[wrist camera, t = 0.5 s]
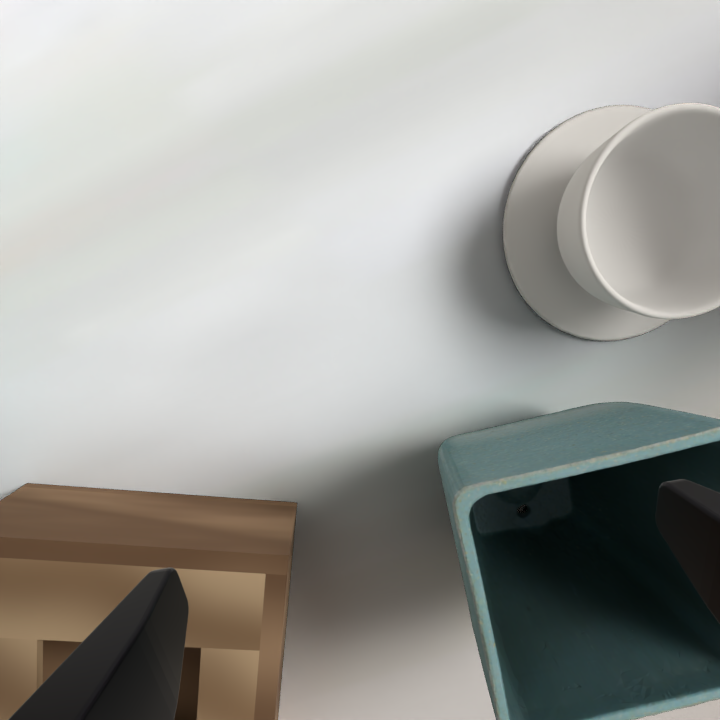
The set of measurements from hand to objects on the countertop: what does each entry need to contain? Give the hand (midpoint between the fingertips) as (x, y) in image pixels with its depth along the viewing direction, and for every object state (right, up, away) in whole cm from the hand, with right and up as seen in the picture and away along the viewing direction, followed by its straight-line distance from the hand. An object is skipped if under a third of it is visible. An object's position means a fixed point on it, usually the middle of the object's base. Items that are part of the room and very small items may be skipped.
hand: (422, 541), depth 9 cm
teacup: (+10, +9, +13) cm, 19 cm away
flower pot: (+6, -2, +14) cm, 16 cm away
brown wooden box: (-11, -10, +14) cm, 20 cm away
